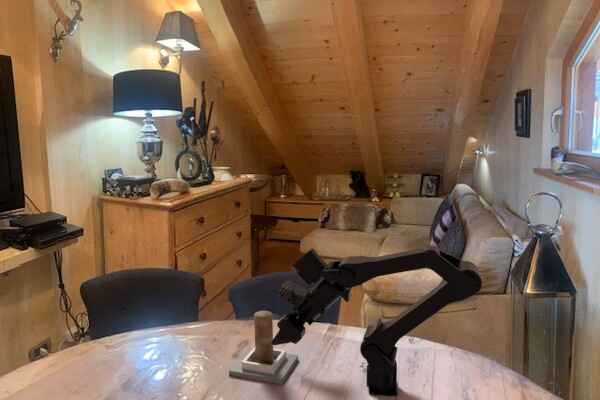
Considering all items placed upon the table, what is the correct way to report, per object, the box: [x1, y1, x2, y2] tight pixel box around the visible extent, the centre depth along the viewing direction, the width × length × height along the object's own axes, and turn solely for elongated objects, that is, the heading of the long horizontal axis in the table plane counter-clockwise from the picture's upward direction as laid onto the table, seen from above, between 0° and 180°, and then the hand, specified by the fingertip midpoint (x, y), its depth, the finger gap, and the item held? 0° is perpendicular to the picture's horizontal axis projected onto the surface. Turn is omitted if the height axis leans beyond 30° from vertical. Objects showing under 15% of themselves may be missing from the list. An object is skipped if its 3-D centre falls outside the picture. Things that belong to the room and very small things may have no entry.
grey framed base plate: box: [228, 346, 299, 385], centre depth 114 cm, size 14×12×3 cm
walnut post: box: [253, 310, 274, 365], centre depth 113 cm, size 5×5×13 cm
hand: (279, 335), depth 112 cm, fingers open, 9 cm apart
